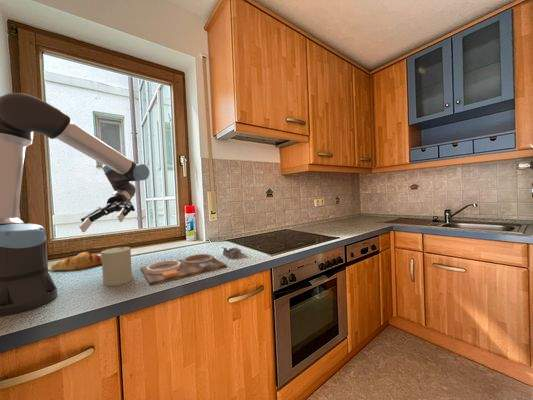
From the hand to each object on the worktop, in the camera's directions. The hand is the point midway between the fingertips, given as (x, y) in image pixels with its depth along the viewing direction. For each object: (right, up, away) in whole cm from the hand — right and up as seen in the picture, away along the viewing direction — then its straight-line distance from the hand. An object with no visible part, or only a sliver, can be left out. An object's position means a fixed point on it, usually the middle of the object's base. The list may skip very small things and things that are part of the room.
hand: (100, 224), depth 88 cm
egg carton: (+46, -19, +26) cm, 56 cm away
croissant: (-20, -21, +16) cm, 33 cm away
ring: (+23, -19, +4) cm, 30 cm away
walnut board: (+28, -19, +9) cm, 35 cm away
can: (+8, -21, -3) cm, 23 cm away
